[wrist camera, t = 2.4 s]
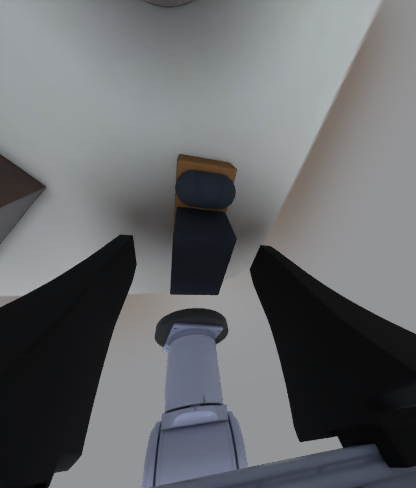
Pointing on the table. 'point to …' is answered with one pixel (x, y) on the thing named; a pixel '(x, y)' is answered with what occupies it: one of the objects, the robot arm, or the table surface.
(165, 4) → the coffee cup
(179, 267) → the cube on wooden base
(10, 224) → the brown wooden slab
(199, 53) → the table surface
